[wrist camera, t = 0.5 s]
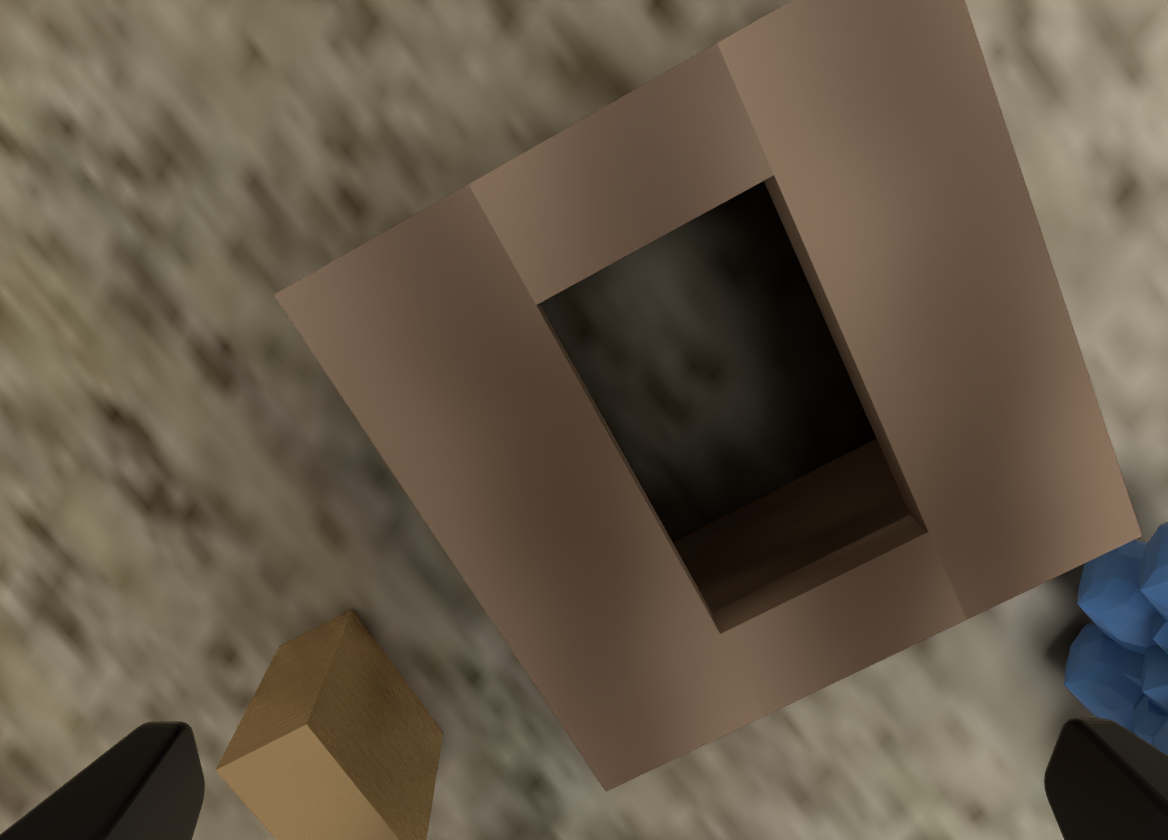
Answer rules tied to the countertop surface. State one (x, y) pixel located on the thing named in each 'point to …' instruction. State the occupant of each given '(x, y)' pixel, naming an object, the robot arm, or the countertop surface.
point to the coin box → (859, 329)
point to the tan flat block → (335, 742)
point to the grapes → (1125, 639)
